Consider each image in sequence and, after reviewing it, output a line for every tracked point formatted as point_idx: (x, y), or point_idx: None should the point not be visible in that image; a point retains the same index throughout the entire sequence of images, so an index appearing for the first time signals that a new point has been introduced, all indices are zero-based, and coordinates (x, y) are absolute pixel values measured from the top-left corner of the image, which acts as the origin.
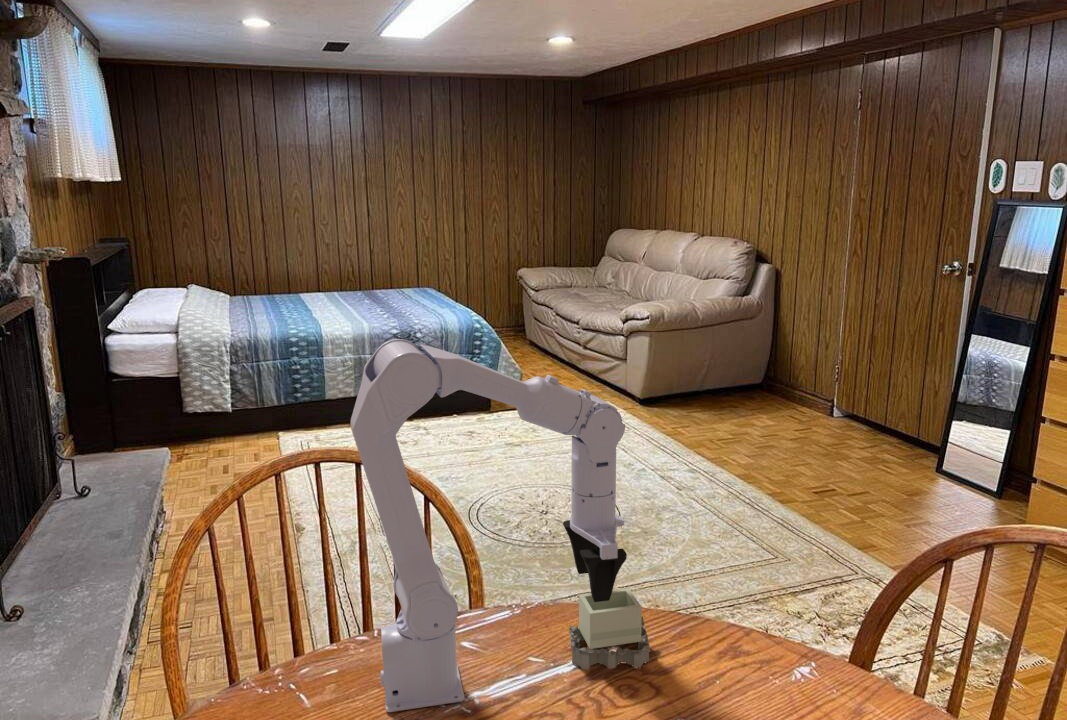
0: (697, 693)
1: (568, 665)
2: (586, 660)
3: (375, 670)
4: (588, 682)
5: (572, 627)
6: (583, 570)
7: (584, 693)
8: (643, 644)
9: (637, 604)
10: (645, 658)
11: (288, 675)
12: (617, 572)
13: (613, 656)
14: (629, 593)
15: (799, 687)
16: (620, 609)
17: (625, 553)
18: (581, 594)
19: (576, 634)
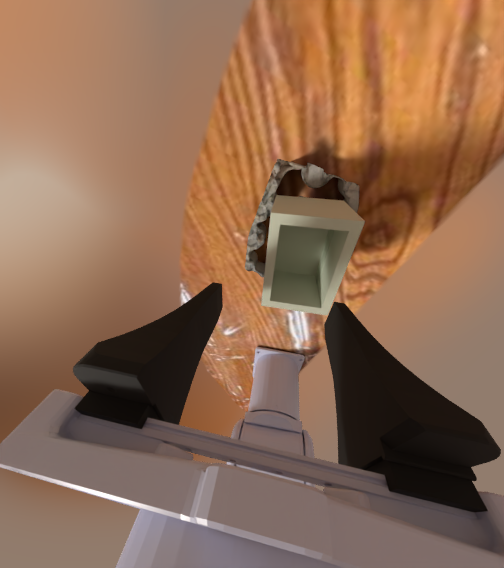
0: (469, 128)
1: None
2: None
3: (245, 375)
4: None
5: (247, 265)
6: (220, 305)
7: (348, 281)
8: (325, 183)
9: (350, 226)
10: (339, 185)
11: (237, 398)
12: (402, 366)
13: None
14: (295, 222)
15: None
16: (345, 267)
17: (484, 445)
18: (262, 302)
19: (254, 260)
